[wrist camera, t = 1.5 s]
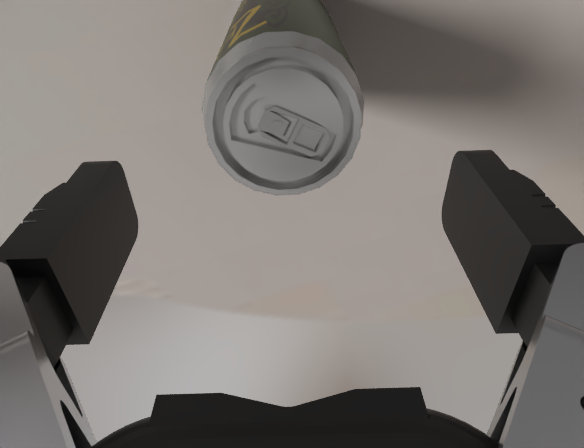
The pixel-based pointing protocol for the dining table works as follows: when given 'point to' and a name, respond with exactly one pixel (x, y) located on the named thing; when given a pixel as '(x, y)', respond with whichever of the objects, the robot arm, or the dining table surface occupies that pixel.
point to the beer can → (282, 98)
